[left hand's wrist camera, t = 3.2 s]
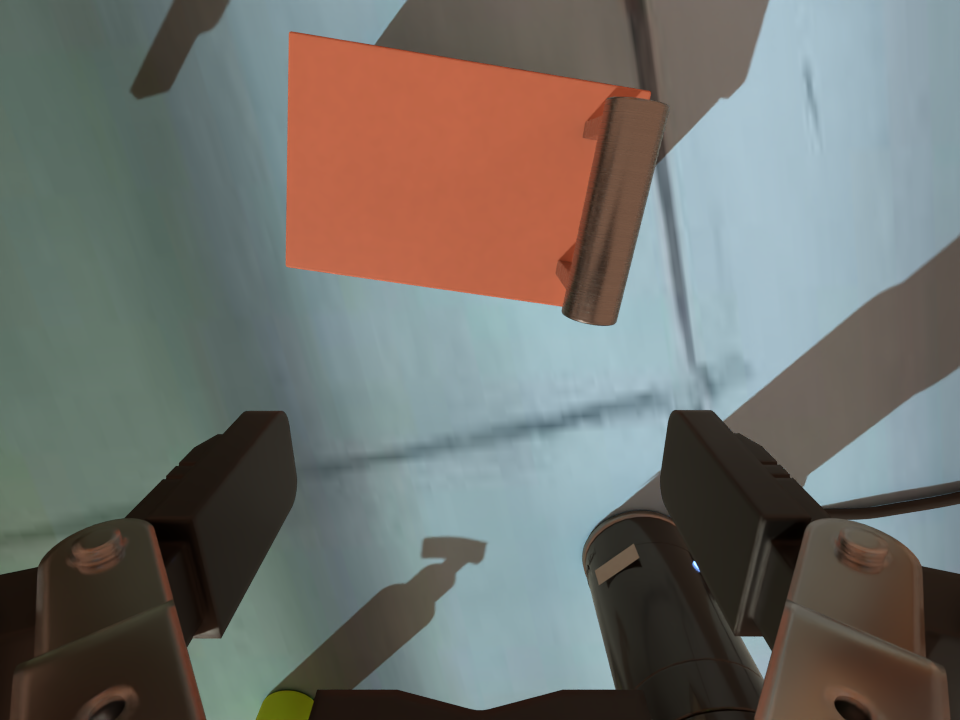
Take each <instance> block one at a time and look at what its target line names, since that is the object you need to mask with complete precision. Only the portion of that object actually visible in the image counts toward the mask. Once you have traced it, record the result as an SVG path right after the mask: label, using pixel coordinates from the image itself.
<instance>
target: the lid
mask: <svg viewBox="0 0 960 720" xmlns="http://www.w3.org/2000/svg"><path fill="white" fill-rule="evenodd" d="M650 96H651V92H650V91H647V90H641V89H635V88H629V87H623V86H617V85H611V84H605V83H599V82H593V81H587V80H581V79H575V78H569V77H563V76H557V75H551V74H545V73H539V72H532V71H526V70H520V69H514V68H508V67H502V66H496V65H490V64H484V63H478V62H472V61H466V60H460V59H454V58H448V57H442V56H436V55H430V54H424V53H418V52H412V51H406V50H400V49H394V48H388V47H382V46H376V45H370V44H364V43H358V42H352V41H346V40H340V39H334V38H328V37H322V36H316V35H310V34H304V33H298V32H289V69H288V142H287V216H286V266H287V267H291V268H297V269H304V270H311V271H318V272H325V273H332V274H339V275H346V276H353V277H360V278H367V279H374V280H381V281H388V282H395V283H402V284H409V285H416V286H423V287H430V288H437V289H444V290H451V291H458V292H465V293H471V294H478V295H485V296H492V297H499V298H506V299H513V300H520V301H527V302H534V303H541V304H548V305H555V306H562V314H563V315H565V316H566V317H568V318H570V319H572V320H575V321H578V322H582V323H586V324H591V325H598V326H610V325H614V324H615V323H616V322H617V318H618V314H619V310H620V306H621V302H622V298H623V294H624V290H625V286H626V282H627V278H628V274H629V270H630V266H631V262H632V258H633V254H634V250H635V246H636V242H637V238H638V234H639V230H640V226H641V222H642V218H643V214H644V210H645V206H646V202H647V198H648V194H649V190H650V186H651V182H652V178H653V173H654V169H655V165H656V161H657V157H658V153H659V149H660V145H661V141H662V137H663V133H664V129H665V125H666V121H667V117H668V113H669V109H670V108H669V106H668V105H667V104H664V103H662V102H658V101H654V100H650Z"/></svg>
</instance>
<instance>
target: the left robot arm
mask: <svg viewBox="0 0 960 720" xmlns="http://www.w3.org/2000/svg"><path fill="white" fill-rule="evenodd" d="M660 487H661V494H662V499H663V502H664V505H665V507H666V509H667V510H668V512H669V514H670V516H671V518H670V517H668V516H666V515H663V514H661V513H657V512H653V511H630V512H625V513H622V514H618V515H616V516H613V517H611V518H609V519H608V520H606V521H604V522H603V523H602V524H600V525H599V526H598V527H597V528H596V529H595V530H594V531H593V532H592V533H591V534H590V536H589V537H588V539H587V541H586V543H585V545H584V549H583V554H582V562H583V567H584V571H585V574H586V577H587V580H588V584H589V587H590V590H591V594H592V598H593V602H594V606H595V610H596V614H597V618H598V622H599V626H600V630H601V634H602V638H603V642H604V646H605V650H606V653H607V657H608V661H609V665H610V669H611V673H612V677H613V681H614V685H615V689H616V690H560V691H556V692H552V693H549V694H545V695H541V696H537V697H533V698H530V699H526V700H522V701H518V702H515V703H511V704H507V705H503V706H499V707H496V708H492V709H488V710H472V709H468V708H464V707H461V706H457V705H453V704H449V703H445V702H442V701H438V700H434V699H430V698H427V697H423V696H419V695H415V694H411V693H408V692H404V691H400V690H317V693H316V696H315V699H314V702H313V706H312V709H311V712H310V715H309V719H308V720H960V574H957V573H952V572H947V571H943V570H938V569H933V568H928V567H923V566H921V564H920V562H919V560H918V559H917V557H916V556H915V555H914V554H913V553H912V552H911V551H910V550H909V549H908V548H907V547H906V546H905V545H903V544H902V543H901V542H899V541H898V540H896V539H895V538H893V537H891V536H890V535H888V534H886V533H884V532H882V531H880V530H877V529H875V528H873V527H870V526H867V525H865V524H862V523H858V522H855V521H850V520H857V519H872V518H879V517H886V516H892V515H898V514H904V513H910V512H916V511H922V510H929V509H934V508H940V507H945V506H951V505H956V504H960V492H955V493H950V494H946V495H941V496H935V497H930V498H924V499H918V500H912V501H906V502H900V503H894V504H888V505H882V506H876V507H868V508H857V509H823V508H822V507H821V506H820V505H819V504H818V503H817V502H816V501H815V500H814V499H813V498H812V497H811V496H810V495H809V494H808V493H807V492H806V491H805V490H804V489H803V488H802V487H801V486H800V485H799V484H798V483H797V482H796V481H795V480H794V479H793V478H790V474H789V473H788V472H787V471H786V470H785V469H784V468H783V467H782V466H781V465H777V461H776V460H775V459H774V458H773V457H772V456H771V455H770V454H769V453H768V452H767V451H766V450H765V449H764V448H763V447H762V446H760V445H759V444H757V443H755V442H753V441H751V440H750V439H748V438H746V437H744V436H743V435H741V434H739V433H733V432H732V431H731V430H730V429H729V428H728V427H727V426H726V425H725V423H724V422H723V421H722V420H721V419H720V418H719V417H718V416H717V415H716V414H715V413H714V412H713V411H711V410H674V411H673V412H672V413H671V414H670V417H669V420H668V426H667V433H666V440H665V447H664V454H663V461H662V468H661V475H660ZM296 490H297V474H296V467H295V460H294V453H293V447H292V440H291V433H290V426H289V421H288V417H287V415H286V413H285V412H283V411H245V412H243V413H242V414H241V415H240V416H239V417H238V419H237V420H236V421H235V422H234V423H233V424H232V425H231V426H230V427H229V428H228V429H227V430H226V431H225V432H224V434H217V435H216V436H214V437H212V438H210V439H209V440H207V441H205V442H203V443H201V444H200V445H198V446H196V447H194V448H193V449H192V450H191V451H190V452H189V453H188V454H187V455H186V456H185V457H184V459H183V460H182V461H181V462H180V463H179V466H176V467H175V468H174V469H173V470H172V471H171V472H170V473H169V474H168V475H167V476H166V479H163V480H162V481H161V482H160V483H159V484H158V485H157V486H156V487H155V488H154V489H153V490H152V491H151V492H150V493H149V494H148V495H147V496H146V497H145V498H144V499H143V500H142V501H141V502H140V503H139V504H138V505H137V506H136V507H135V508H134V509H133V510H132V511H131V512H130V513H129V514H128V515H127V516H126V517H125V518H123V519H115V520H110V521H105V522H102V523H98V524H95V525H93V526H90V527H87V528H85V529H83V530H80V531H78V532H76V533H74V534H72V535H70V536H69V537H67V538H65V539H64V540H62V541H61V542H59V543H58V544H57V545H55V546H54V547H53V548H52V549H51V550H50V551H49V552H48V553H47V554H46V555H45V556H44V557H43V559H42V560H41V562H40V564H39V567H36V568H31V569H26V570H21V571H17V572H12V573H7V574H2V575H0V720H206V716H205V712H204V709H203V705H202V701H201V698H200V694H199V690H198V687H197V683H196V679H195V675H194V672H193V668H192V664H191V661H190V657H189V653H188V650H187V647H188V645H189V643H190V642H191V640H192V638H222V636H223V634H224V632H225V630H226V628H227V626H228V625H229V623H230V621H231V619H232V617H233V615H234V614H235V612H236V610H237V608H238V606H239V604H240V602H241V601H242V599H243V597H244V595H245V593H246V591H247V589H248V588H249V586H250V584H251V582H252V580H253V578H254V577H255V575H256V573H257V571H258V569H259V567H260V565H261V564H262V562H263V560H264V558H265V556H266V554H267V552H268V551H269V549H270V547H271V545H272V543H273V541H274V540H275V538H276V536H277V534H278V532H279V530H280V528H281V527H282V525H283V523H284V521H285V519H286V517H287V515H288V514H289V512H290V510H291V508H292V506H293V504H294V500H295V496H296ZM740 636H763V637H764V639H765V640H766V642H767V644H768V646H769V647H770V649H771V651H772V653H771V657H770V661H769V664H768V668H767V672H766V675H765V679H763V677H762V675H761V673H760V672H759V670H758V668H757V666H756V664H755V662H754V660H753V659H752V657H751V655H750V653H749V651H748V649H747V648H746V646H745V644H744V642H743V640H742V638H741V637H740Z"/></svg>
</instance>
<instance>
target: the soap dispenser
mask: <svg viewBox="0 0 960 720" xmlns="http://www.w3.org/2000/svg"><path fill="white" fill-rule="evenodd" d="M313 702H314V701H313V700H312V699H311V698H310V697H308V696H307V695H305V694H302V693H300V692H296V691H278V692H275V693H272V694H271V695H269V696H268V697H266V698H265V700H264V701H263V703H262V706H261V708H260V710H259V713H258V715H257V718H256V720H308V719H309V715H310V712H311V709H312V706H313Z"/></svg>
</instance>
